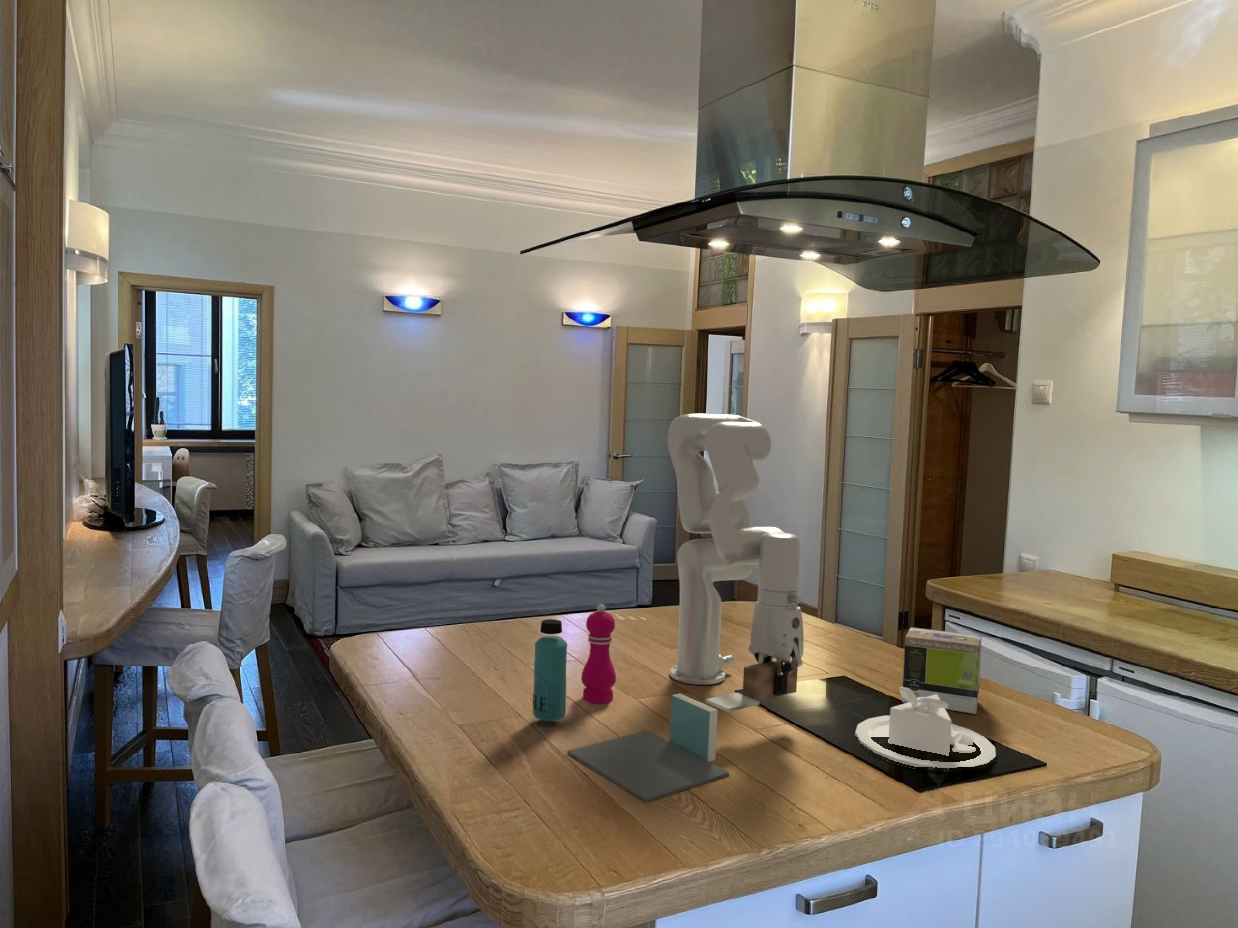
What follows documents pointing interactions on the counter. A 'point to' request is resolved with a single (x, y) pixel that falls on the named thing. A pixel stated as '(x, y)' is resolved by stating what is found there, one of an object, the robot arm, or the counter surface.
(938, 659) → the tea box
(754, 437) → the robot arm
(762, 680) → the wooden handled spatula
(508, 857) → the counter surface
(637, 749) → the tile mat
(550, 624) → the beverage bottle
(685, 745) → the tile
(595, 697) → the pepper mill
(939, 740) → the dish
